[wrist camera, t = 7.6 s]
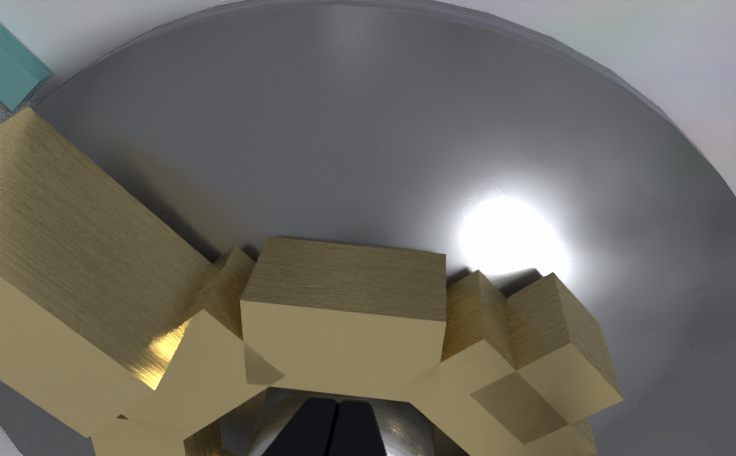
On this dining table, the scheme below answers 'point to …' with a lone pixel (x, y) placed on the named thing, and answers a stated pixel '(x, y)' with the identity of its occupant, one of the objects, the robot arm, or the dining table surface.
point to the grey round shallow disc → (419, 189)
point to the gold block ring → (265, 324)
